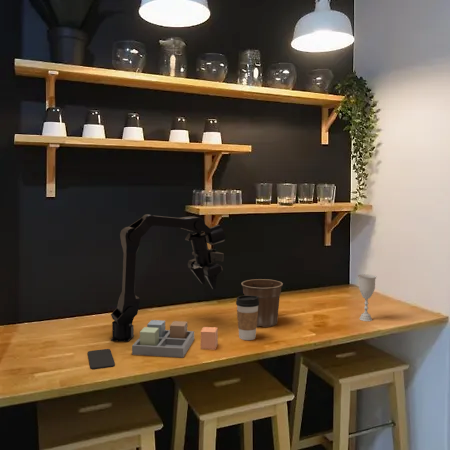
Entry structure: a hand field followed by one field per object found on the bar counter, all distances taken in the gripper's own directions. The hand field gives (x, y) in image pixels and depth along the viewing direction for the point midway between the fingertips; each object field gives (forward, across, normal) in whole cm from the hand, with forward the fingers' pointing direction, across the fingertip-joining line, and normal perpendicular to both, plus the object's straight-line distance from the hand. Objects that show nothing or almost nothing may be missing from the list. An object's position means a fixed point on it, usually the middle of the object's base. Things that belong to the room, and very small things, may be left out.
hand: (208, 286), depth 179 cm
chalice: (+29, -24, -55) cm, 66 cm away
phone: (+5, -15, +48) cm, 51 cm away
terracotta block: (+12, -21, +14) cm, 28 cm away
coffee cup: (+16, -20, -2) cm, 26 cm away
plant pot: (+20, -8, -16) cm, 26 cm away
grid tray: (+9, -14, +27) cm, 32 cm away
